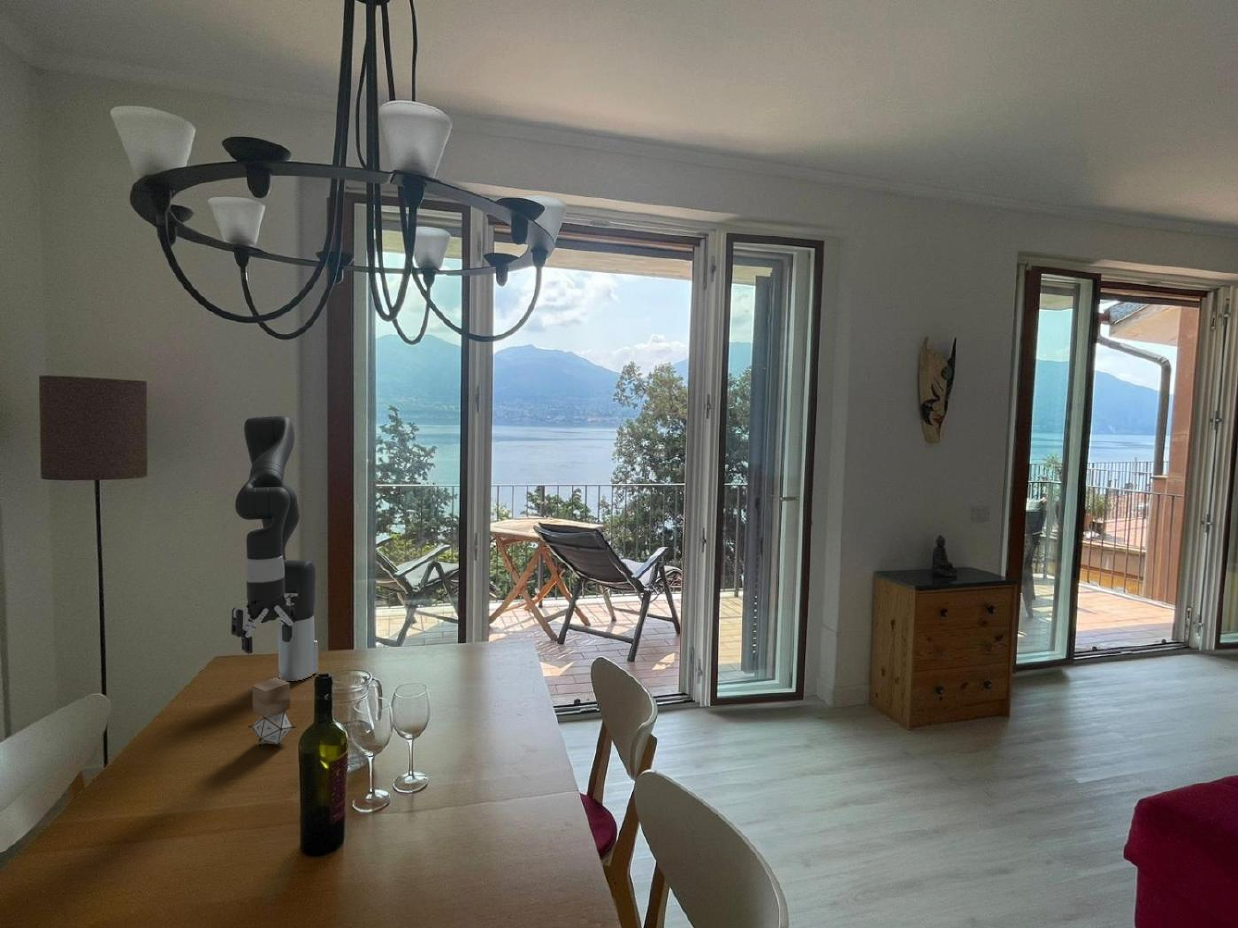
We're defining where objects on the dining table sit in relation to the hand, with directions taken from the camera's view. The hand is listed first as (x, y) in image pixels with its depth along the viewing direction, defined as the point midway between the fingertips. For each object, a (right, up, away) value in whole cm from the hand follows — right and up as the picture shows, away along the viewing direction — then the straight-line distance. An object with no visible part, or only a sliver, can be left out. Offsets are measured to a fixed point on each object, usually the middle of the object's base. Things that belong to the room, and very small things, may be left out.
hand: (267, 646), depth 147 cm
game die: (+1, -22, +1) cm, 22 cm away
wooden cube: (+1, -14, 0) cm, 14 cm away
